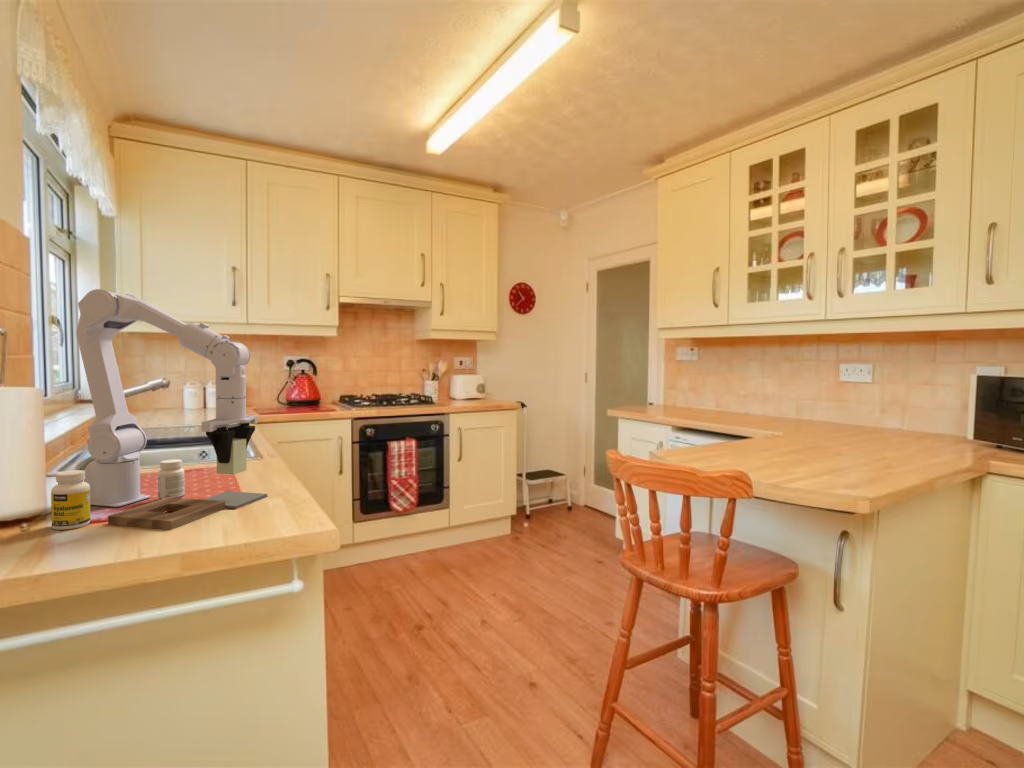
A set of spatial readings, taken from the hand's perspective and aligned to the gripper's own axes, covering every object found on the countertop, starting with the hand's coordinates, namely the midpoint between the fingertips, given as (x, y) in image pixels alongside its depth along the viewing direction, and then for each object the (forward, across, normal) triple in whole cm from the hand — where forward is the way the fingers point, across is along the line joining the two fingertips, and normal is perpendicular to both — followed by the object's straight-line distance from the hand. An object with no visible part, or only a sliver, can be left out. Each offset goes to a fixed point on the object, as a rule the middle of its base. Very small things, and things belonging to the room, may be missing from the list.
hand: (231, 460), depth 112 cm
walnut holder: (+9, -12, +4) cm, 15 cm away
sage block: (+2, 0, 0) cm, 2 cm away
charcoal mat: (+9, 0, 0) cm, 9 cm away
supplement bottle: (+9, -21, +16) cm, 28 cm away
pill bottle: (+9, -2, +13) cm, 16 cm away
